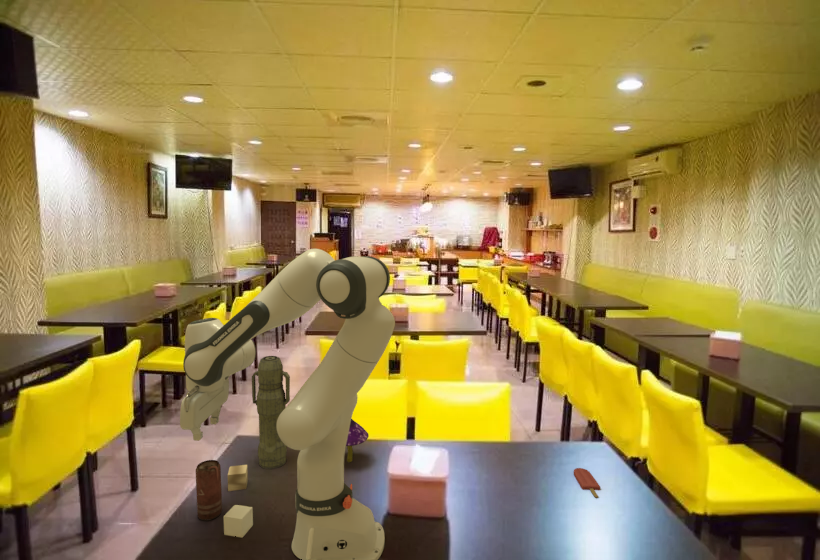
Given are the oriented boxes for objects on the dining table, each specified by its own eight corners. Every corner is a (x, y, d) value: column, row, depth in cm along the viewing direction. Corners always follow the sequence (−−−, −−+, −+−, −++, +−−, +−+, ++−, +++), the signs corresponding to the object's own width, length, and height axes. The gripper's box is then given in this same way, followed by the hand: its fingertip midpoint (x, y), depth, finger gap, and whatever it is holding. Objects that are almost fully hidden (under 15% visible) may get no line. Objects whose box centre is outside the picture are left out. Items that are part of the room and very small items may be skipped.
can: (214, 522, 121) (212, 471, 119) (192, 519, 122) (190, 469, 120) (227, 509, 127) (226, 460, 125) (206, 505, 128) (204, 457, 126)
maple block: (247, 480, 141) (247, 464, 141) (246, 489, 136) (245, 473, 136) (230, 482, 140) (229, 466, 139) (228, 491, 135) (227, 475, 135)
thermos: (289, 468, 148) (287, 361, 144) (251, 469, 147) (248, 362, 143) (293, 454, 157) (291, 353, 153) (257, 456, 156) (254, 354, 152)
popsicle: (587, 494, 134) (570, 467, 149) (587, 499, 134) (570, 472, 149) (606, 494, 134) (587, 467, 148) (605, 499, 134) (587, 472, 149)
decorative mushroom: (328, 455, 157) (328, 412, 155) (365, 450, 160) (365, 409, 158) (332, 474, 145) (331, 428, 143) (371, 469, 148) (372, 424, 146)
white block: (253, 525, 120) (252, 507, 120) (242, 537, 115) (241, 519, 115) (235, 522, 121) (234, 504, 121) (224, 535, 116) (223, 516, 116)
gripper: (197, 395, 110) (199, 450, 111) (232, 368, 130) (233, 415, 132) (171, 394, 110) (173, 449, 111) (210, 367, 130) (211, 415, 132)
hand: (206, 431), depth 122 cm, fingers open, 8 cm apart
